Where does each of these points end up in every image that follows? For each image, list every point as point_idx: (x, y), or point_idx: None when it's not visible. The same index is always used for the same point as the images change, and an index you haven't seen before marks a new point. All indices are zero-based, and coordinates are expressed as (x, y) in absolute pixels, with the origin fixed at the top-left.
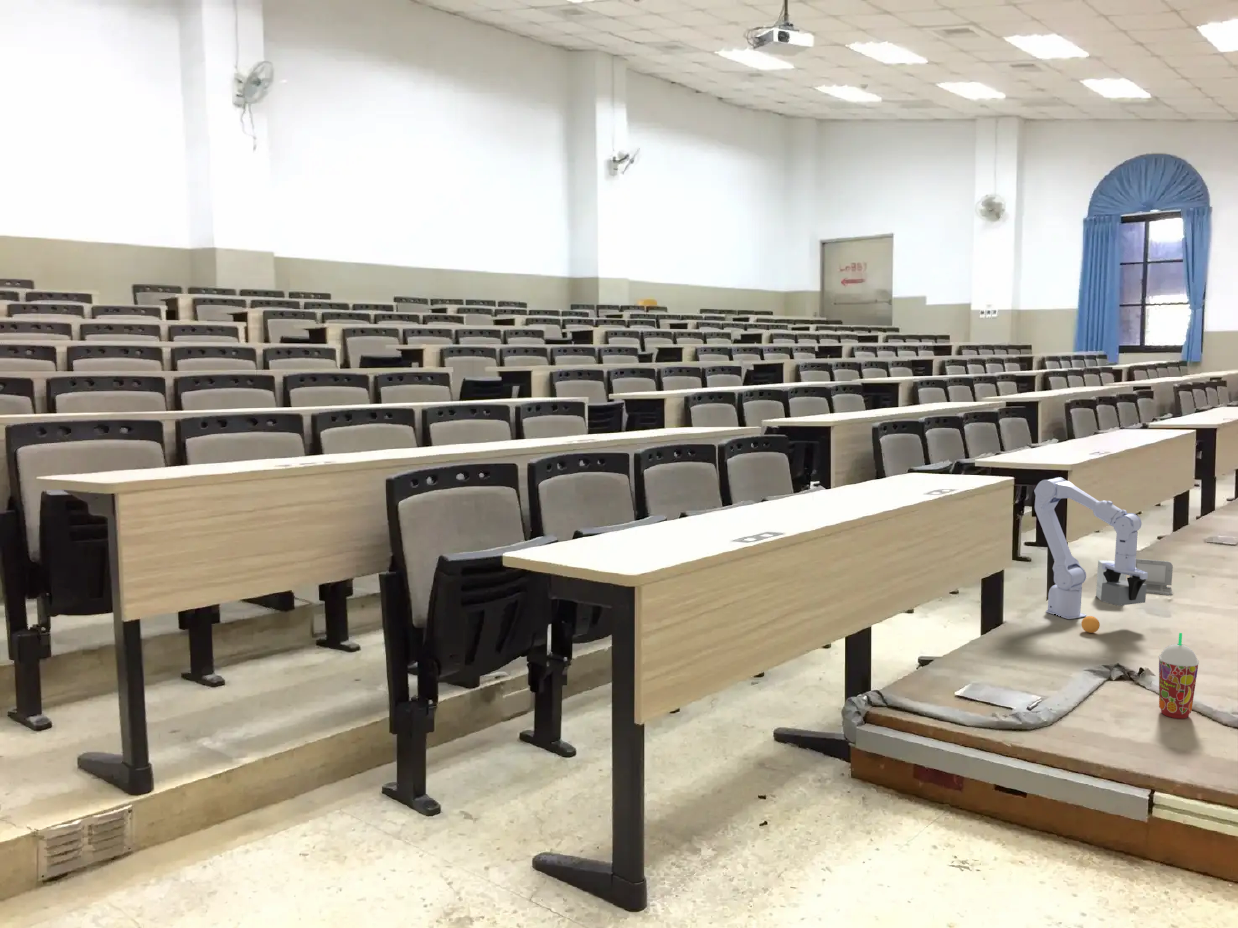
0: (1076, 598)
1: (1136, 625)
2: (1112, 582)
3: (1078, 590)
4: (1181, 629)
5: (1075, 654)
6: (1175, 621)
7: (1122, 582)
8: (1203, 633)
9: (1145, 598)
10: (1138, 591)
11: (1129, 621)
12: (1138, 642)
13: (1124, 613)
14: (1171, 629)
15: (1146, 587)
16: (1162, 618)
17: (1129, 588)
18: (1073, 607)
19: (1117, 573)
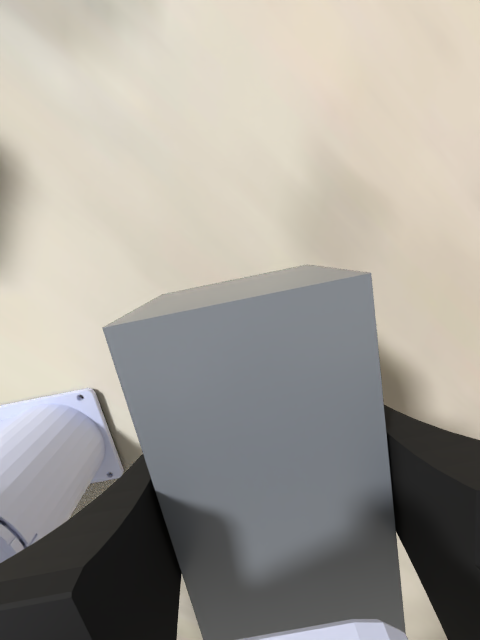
0: (60, 511)
1: (246, 268)
2: (209, 584)
3: (18, 542)
4: (358, 96)
5: (434, 622)
6: (234, 2)
7: (222, 492)
8: (448, 30)
9: (315, 266)
10: (398, 415)
11: (185, 255)
12: (425, 410)
13: (56, 181)
14: (342, 150)
15: (352, 270)
16: (169, 34)
17: (400, 527)
18: (85, 483)
19: (122, 624)
